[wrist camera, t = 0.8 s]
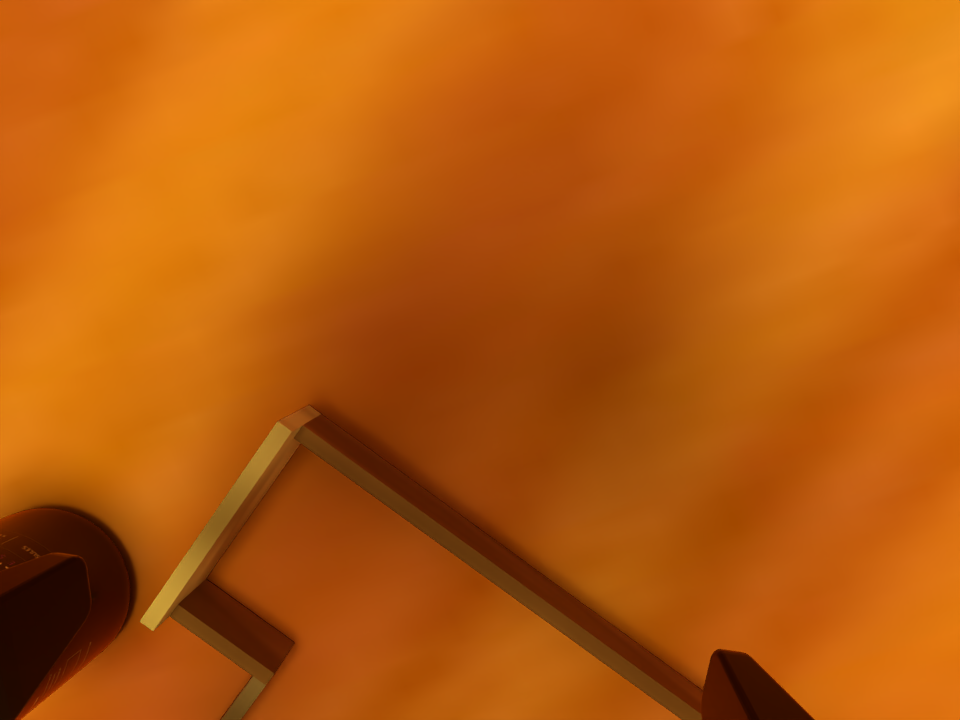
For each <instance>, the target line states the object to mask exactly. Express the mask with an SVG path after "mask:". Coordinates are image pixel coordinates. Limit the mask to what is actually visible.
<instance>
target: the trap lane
mask: <svg viewBox="0 0 960 720" xmlns="http://www.w3.org/2000/svg"><path fill="white" fill-rule="evenodd" d="M300 444H302V445H304V446H305V447H306V448H308V449H309V450H310V451H312V452H313V453H315V454H316V455H317V456H319V457H320V458H321V459H323V460H324V461H326V462H327V463H328V464H330V465H331V466H333V467H334V468H335V469H337V470H338V471H339V472H341V473H342V474H344V475H345V476H346V477H348V478H349V479H350V480H352V481H353V482H355V483H356V484H357V485H359V486H360V487H361V488H363V489H364V490H366V491H367V492H368V493H370V494H371V495H373V496H374V497H375V498H377V499H378V500H379V501H381V502H382V503H384V504H385V505H386V506H388V507H389V508H390V509H392V510H393V511H395V512H396V513H397V514H399V515H400V516H401V517H403V518H404V519H406V520H407V521H408V522H410V523H411V524H413V525H414V526H415V527H417V528H418V529H419V530H421V531H422V532H424V533H425V534H426V535H428V536H429V537H430V538H432V539H433V540H435V541H436V542H437V543H439V544H440V545H442V546H443V547H444V548H446V549H447V550H448V551H450V552H451V553H453V554H454V555H455V556H457V557H458V558H459V559H461V560H462V561H464V562H465V563H466V564H468V565H469V566H470V567H472V568H473V569H475V570H476V571H477V572H479V573H480V574H482V575H483V576H484V577H486V578H487V579H488V580H490V581H491V582H493V583H494V584H495V585H497V586H498V587H499V588H501V589H502V590H504V591H505V592H506V593H508V594H509V595H511V596H512V597H513V598H515V599H516V600H517V601H519V602H520V603H522V604H523V605H524V606H526V607H527V608H528V609H530V610H531V611H533V612H534V613H535V614H537V615H538V616H539V617H541V618H542V619H544V620H545V621H546V622H548V623H549V624H551V625H552V626H553V627H555V628H556V629H557V630H559V631H560V632H562V633H563V634H564V635H566V636H567V637H568V638H570V639H571V640H573V641H574V642H575V643H577V644H578V645H579V646H581V647H582V648H584V649H585V650H586V651H588V652H589V653H591V654H592V655H593V656H595V657H596V658H597V659H599V660H600V661H602V662H603V663H604V664H606V665H607V666H608V667H610V668H611V669H613V670H614V671H615V672H617V673H618V674H620V675H621V676H622V677H624V678H625V679H626V680H628V681H629V682H631V683H632V684H633V685H635V686H636V687H637V688H639V689H640V690H642V691H643V692H644V693H646V694H647V695H648V696H650V697H651V698H653V699H654V700H655V701H657V702H658V703H660V704H661V705H662V706H664V707H665V708H666V709H668V710H669V711H671V712H672V713H673V714H675V715H676V716H677V717H679V718H680V719H682V720H702V716H701V698H702V693H703V691H702V690H701V689H699V688H698V687H697V686H695V685H694V684H693V683H691V682H690V681H688V680H687V679H686V678H684V677H683V676H682V675H680V674H679V673H677V672H676V671H675V670H673V669H672V668H671V667H669V666H668V665H666V664H665V663H664V662H662V661H661V660H659V659H658V658H657V657H655V656H654V655H653V654H651V653H650V652H648V651H647V650H646V649H644V648H643V647H642V646H640V645H639V644H637V643H636V642H635V641H633V640H632V639H631V638H629V637H628V636H626V635H625V634H624V633H622V632H621V631H620V630H618V629H617V628H615V627H614V626H613V625H611V624H610V623H609V622H607V621H606V620H604V619H603V618H602V617H600V616H599V615H597V614H596V613H595V612H593V611H592V610H591V609H589V608H588V607H586V606H585V605H584V604H582V603H581V602H580V601H578V600H577V599H575V598H574V597H573V596H571V595H570V594H569V593H567V592H566V591H564V590H563V589H562V588H560V587H559V586H558V585H556V584H555V583H553V582H552V581H551V580H549V579H548V578H547V577H545V576H544V575H542V574H541V573H540V572H538V571H537V570H535V569H534V568H533V567H531V566H530V565H529V564H527V563H526V562H524V561H523V560H522V559H520V558H519V557H518V556H516V555H515V554H513V553H512V552H511V551H509V550H508V549H507V548H505V547H504V546H502V545H501V544H500V543H498V542H497V541H496V540H494V539H493V538H491V537H490V536H489V535H487V534H486V533H485V532H483V531H482V530H480V529H479V528H478V527H476V526H475V525H473V524H472V523H471V522H469V521H468V520H467V519H465V518H464V517H462V516H461V515H460V514H458V513H457V512H456V511H454V510H453V509H451V508H450V507H449V506H447V505H446V504H445V503H443V502H442V501H440V500H439V499H438V498H436V497H435V496H434V495H432V494H431V493H429V492H428V491H427V490H425V489H424V488H422V487H421V486H420V485H418V484H417V483H416V482H414V481H413V480H411V479H410V478H409V477H407V476H406V475H405V474H403V473H402V472H400V471H399V470H398V469H396V468H395V467H394V466H392V465H391V464H389V463H388V462H387V461H385V460H384V459H383V458H381V457H380V456H378V455H377V454H376V453H374V452H373V451H372V450H370V449H369V448H367V447H366V446H365V445H363V444H362V443H360V442H359V441H358V440H356V439H355V438H354V437H352V436H351V435H349V434H348V433H347V432H345V431H344V430H343V429H341V428H340V427H338V426H337V425H336V424H334V423H333V422H332V421H330V420H329V419H327V418H326V417H325V416H323V415H322V414H321V413H319V412H318V411H316V410H315V409H314V408H312V407H311V406H310V405H308V406H306V407H304V408H302V409H300V410H298V411H296V412H294V413H292V414H291V415H289V416H287V417H285V418H283V419H281V420H279V421H277V423H276V424H275V426H274V427H273V429H272V430H271V432H270V433H269V434H268V436H267V437H266V439H265V440H264V442H263V443H262V445H261V446H260V448H259V449H258V450H257V452H256V453H255V455H254V456H253V458H252V459H251V461H250V462H249V463H248V465H247V466H246V468H245V469H244V471H243V472H242V474H241V475H240V477H239V478H238V479H237V481H236V482H235V484H234V485H233V487H232V488H231V490H230V491H229V493H228V494H227V495H226V497H225V498H224V500H223V501H222V503H221V504H220V506H219V507H218V508H217V510H216V511H215V513H214V514H213V516H212V517H211V519H210V520H209V522H208V523H207V524H206V526H205V527H204V529H203V530H202V532H201V533H200V535H199V536H198V537H197V539H196V540H195V542H194V543H193V545H192V546H191V548H190V549H189V551H188V552H187V553H186V555H185V556H184V558H183V559H182V561H181V562H180V564H179V565H178V567H177V568H176V569H175V571H174V572H173V574H172V575H171V577H170V578H169V580H168V581H167V582H166V584H165V585H164V587H163V588H162V590H161V591H160V593H159V594H158V596H157V597H156V598H155V600H154V601H153V603H152V604H151V606H150V607H149V609H148V610H147V612H146V613H145V614H144V616H143V617H142V619H141V620H140V622H141V623H142V624H144V625H145V626H147V627H148V628H149V629H151V630H152V631H154V630H155V629H156V628H157V627H158V626H159V625H160V624H162V623H163V622H164V621H165V620H166V619H167V618H168V617H169V616H170V617H171V618H173V619H174V620H175V621H177V622H178V623H180V624H181V625H182V626H184V627H185V628H187V629H188V630H189V631H191V632H192V633H194V634H195V635H196V636H198V637H199V638H201V639H202V640H203V641H205V642H206V643H207V644H209V645H210V646H212V647H213V648H214V649H216V650H217V651H219V652H220V653H221V654H223V655H224V656H226V657H227V658H228V659H230V660H231V661H233V662H234V663H235V664H237V665H238V666H239V667H241V668H242V669H244V670H245V671H246V672H248V673H249V674H251V675H252V677H251V678H250V680H249V681H248V682H247V684H246V685H245V687H244V688H243V689H242V691H241V692H240V693H239V695H238V696H237V697H236V699H235V700H234V702H233V703H232V704H231V706H230V707H229V708H228V710H227V711H226V712H225V714H224V715H223V717H222V718H221V719H220V720H241V719H242V717H243V716H244V715H245V713H246V712H247V710H248V709H249V708H250V706H251V705H252V704H253V702H254V701H255V700H256V698H257V697H258V696H259V694H260V693H261V692H262V690H263V689H264V687H265V686H266V685H267V683H268V682H269V681H270V679H271V678H272V677H273V675H274V674H275V672H276V671H277V669H278V668H279V666H280V665H281V663H282V662H283V660H284V658H285V657H286V655H287V654H288V652H289V651H290V649H291V648H292V646H293V645H294V642H293V641H291V640H290V639H289V638H287V637H286V636H284V635H283V634H282V633H280V632H279V631H278V630H276V629H275V628H273V627H272V626H271V625H269V624H268V623H266V622H265V621H264V620H262V619H261V618H259V617H258V616H257V615H255V614H254V613H253V612H251V611H250V610H248V609H247V608H246V607H244V606H243V605H241V604H240V603H239V602H237V601H236V600H234V599H233V598H232V597H230V596H229V595H228V594H226V593H225V592H223V591H222V590H221V589H219V588H218V587H216V586H215V585H214V584H212V583H211V582H209V581H208V580H207V579H206V578H207V577H208V575H209V574H210V572H211V571H212V569H213V568H214V567H215V565H216V564H217V562H218V561H219V559H220V558H221V557H222V555H223V554H224V552H225V551H226V549H227V548H228V547H229V545H230V544H231V542H232V541H233V539H234V538H235V537H236V535H237V534H238V532H239V531H240V529H241V528H242V527H243V525H244V524H245V522H246V521H247V519H248V518H249V517H250V515H251V514H252V512H253V511H254V509H255V508H256V507H257V505H258V504H259V502H260V501H261V499H262V498H263V497H264V495H265V494H266V492H267V491H268V489H269V488H270V487H271V485H272V484H273V482H274V481H275V479H276V478H277V477H278V475H279V474H280V472H281V471H282V469H283V468H284V467H285V465H286V464H287V462H288V461H289V459H290V458H291V457H292V455H293V454H294V452H295V451H296V449H297V448H298V447H299V445H300Z"/></svg>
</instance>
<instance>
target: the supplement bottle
mask: <svg viewBox="0 0 960 720" xmlns="http://www.w3.org/2000/svg"><path fill="white" fill-rule="evenodd" d="M50 553H64V554H71V555H77V556H80V557H82V558H83V559H84V561H85V562H86V566H87V572H88V579H89V586H90V593H91V602H92V603H91V609H90V613H89V615H88V617H87V619H86V621H85V622H84V624H83V625H82V627H81V628H80V630H79V631H78V632H77V634H76V635H75V637H74V638H73V639H72V641H71V642H70V644H69V645H68V646H67V648H66V649H65V651H64V652H63V653H62V655H61V656H60V658H59V659H58V660H57V662H56V663H55V665H54V666H53V667H52V669H51V670H50V672H49V673H48V675H47V676H46V677H45V679H44V680H43V682H42V683H41V684H40V686H39V687H38V689H37V690H36V691H35V693H34V694H33V696H32V697H31V698H30V700H29V701H28V703H27V704H26V705H25V707H24V708H23V709H22V711H21V712H20V713H19V715H18V716H17V718H16V719H15V720H21V719H22V718H23V717H24V716H26V715H27V714H28V713H29V712H30V711H32V710H33V709H34V708H35V707H36V706H38V705H39V704H40V703H41V702H42V701H44V700H45V699H46V698H47V697H49V696H50V695H51V694H52V693H53V692H55V691H56V690H57V689H58V688H59V687H61V686H62V685H63V684H64V683H65V682H67V681H68V680H69V679H70V678H72V677H73V676H74V675H75V674H76V673H78V672H79V671H80V670H81V669H82V668H84V667H85V666H86V665H87V664H88V663H89V662H90V661H92V660H93V659H94V658H95V657H96V656H97V655H99V654H100V653H101V652H102V651H103V650H104V649H105V648H106V647H107V646H108V645H109V644H110V643H111V642H112V641H113V640H114V638H115V637H116V636H117V634H118V633H119V631H120V629H121V627H122V625H123V623H124V621H125V618H126V615H127V612H128V607H129V602H130V582H129V576H128V572H127V568H126V565H125V562H124V560H123V558H122V556H121V554H120V552H119V550H118V549H117V547H116V545H115V544H114V543H113V541H112V540H111V539H110V538H109V537H108V536H107V534H106V533H104V532H103V531H102V530H101V529H100V528H99V527H98V526H96V525H95V524H93V523H92V522H90V521H89V520H87V519H85V518H83V517H81V516H79V515H77V514H74V513H71V512H68V511H64V510H59V509H52V508H38V509H29V510H25V511H21V512H18V513H15V514H12V515H9V516H7V517H4V518H2V519H0V571H2V570H5V569H7V568H10V567H13V566H16V565H19V564H22V563H24V562H27V561H30V560H33V559H36V558H38V557H41V556H44V555H47V554H50Z"/></svg>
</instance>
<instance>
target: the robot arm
mask: <svg viewBox="0 0 960 720" xmlns="http://www.w3.org/2000/svg"><path fill="white" fill-rule="evenodd" d="M91 603H92V602H91V593H90V586H89V579H88V572H87V566H86V562H85V561H84V559H83V558H82V557H80V556H77V555H71V554H64V553H50V554H47V555H44V556H41V557H38V558H36V559H33V560H30V561H27V562H24V563H22V564H19V565H16V566H13V567H10V568H7V569H5V570H2V571H0V720H15V719H16V718H17V716H18V715H19V713H20V712H21V711H22V709H23V708H24V707H25V705H26V704H27V703H28V701H29V700H30V698H31V697H32V696H33V694H34V693H35V691H36V690H37V689H38V687H39V686H40V684H41V683H42V682H43V680H44V679H45V677H46V676H47V675H48V673H49V672H50V670H51V669H52V667H53V666H54V665H55V663H56V662H57V660H58V659H59V658H60V656H61V655H62V653H63V652H64V651H65V649H66V648H67V646H68V645H69V644H70V642H71V641H72V639H73V638H74V637H75V635H76V634H77V632H78V631H79V630H80V628H81V627H82V625H83V624H84V622H85V621H86V619H87V617H88V615H89V613H90V609H91ZM701 716H702V720H815V719H813V718H812V717H811V716H810V715H809V714H808V713H807V712H806V711H805V710H804V709H803V708H802V707H801V706H800V705H799V704H798V703H797V702H796V701H795V700H794V699H793V698H792V697H791V696H790V695H789V694H788V693H787V692H786V691H785V690H784V689H783V688H782V687H781V686H780V685H779V684H778V683H777V682H776V681H775V680H774V679H773V678H772V677H771V676H770V675H769V674H768V673H767V672H766V671H765V670H764V669H763V668H762V667H761V666H760V665H759V664H758V663H757V662H756V661H755V660H754V659H753V658H752V657H750V656H749V655H748V654H746V653H743V652H736V651H730V650H723V649H718V650H716V651H714V652H713V654H712V656H711V659H710V663H709V668H708V672H707V676H706V680H705V684H704V689H703V693H702V698H701Z"/></svg>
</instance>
